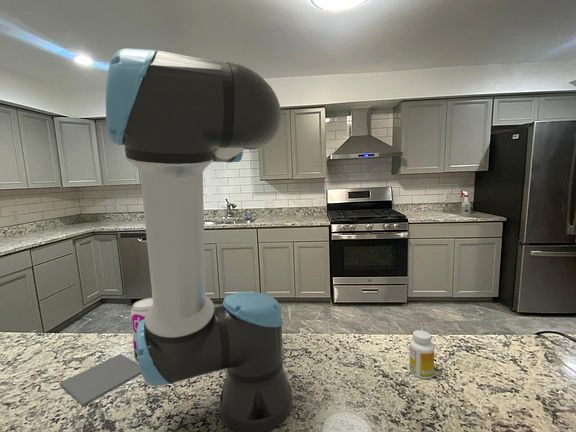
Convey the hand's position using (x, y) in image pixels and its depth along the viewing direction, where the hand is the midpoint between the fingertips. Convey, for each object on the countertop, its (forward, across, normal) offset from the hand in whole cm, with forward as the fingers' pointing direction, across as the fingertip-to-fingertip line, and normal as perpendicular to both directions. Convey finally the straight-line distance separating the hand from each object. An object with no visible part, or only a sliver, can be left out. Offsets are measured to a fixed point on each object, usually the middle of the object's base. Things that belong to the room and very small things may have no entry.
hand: (179, 256), depth 85 cm
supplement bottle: (+26, -19, +66) cm, 74 cm away
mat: (+26, +23, 0) cm, 35 cm away
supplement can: (+26, +11, 0) cm, 28 cm away
